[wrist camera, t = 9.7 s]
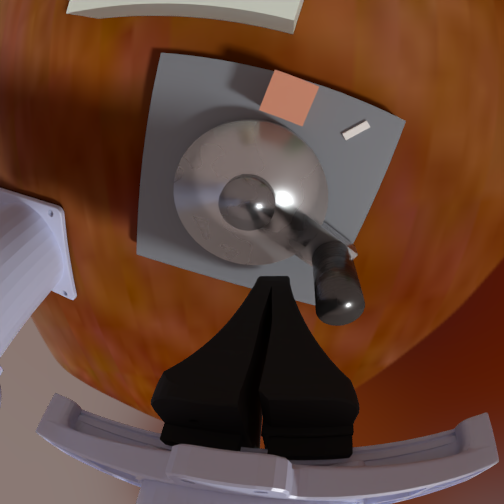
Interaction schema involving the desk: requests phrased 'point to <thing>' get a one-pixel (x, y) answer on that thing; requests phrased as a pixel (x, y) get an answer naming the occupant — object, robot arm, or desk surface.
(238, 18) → the tray
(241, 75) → the crank base
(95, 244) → the desk surface
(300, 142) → the crank
